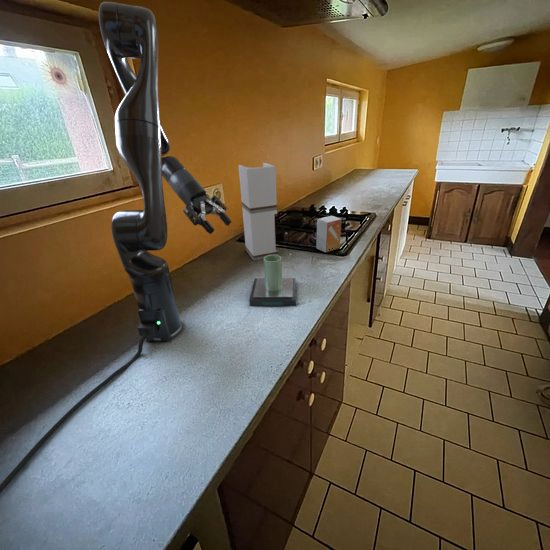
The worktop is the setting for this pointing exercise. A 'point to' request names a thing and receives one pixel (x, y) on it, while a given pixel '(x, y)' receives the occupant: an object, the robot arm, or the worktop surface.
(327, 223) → the small box
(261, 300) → the scale
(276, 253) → the tall white tower
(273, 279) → the cup
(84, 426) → the worktop surface
